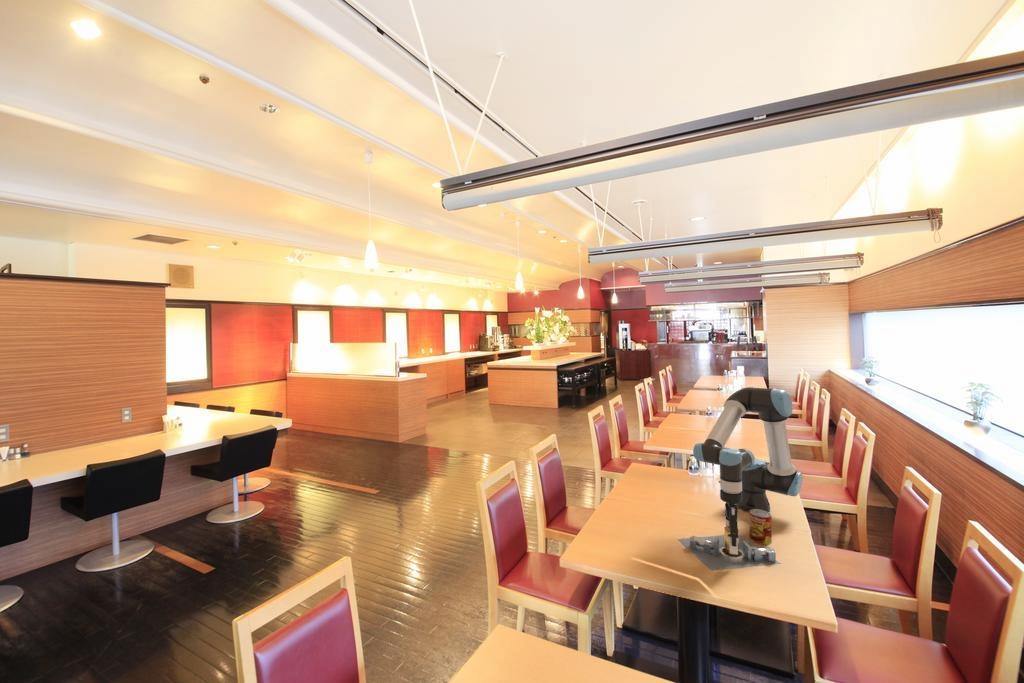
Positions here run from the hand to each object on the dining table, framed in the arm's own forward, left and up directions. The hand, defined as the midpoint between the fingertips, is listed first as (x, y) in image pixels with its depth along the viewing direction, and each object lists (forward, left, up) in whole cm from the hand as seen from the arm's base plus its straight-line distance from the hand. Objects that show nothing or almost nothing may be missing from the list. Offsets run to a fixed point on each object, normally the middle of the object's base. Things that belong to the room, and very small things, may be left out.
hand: (731, 545), depth 160 cm
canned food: (-21, -11, -6) cm, 24 cm away
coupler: (0, 0, -5) cm, 5 cm away
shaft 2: (-10, +3, -5) cm, 11 cm away
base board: (-1, -5, -6) cm, 7 cm away
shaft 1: (+7, -7, -5) cm, 11 cm away
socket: (0, 0, -5) cm, 5 cm away
